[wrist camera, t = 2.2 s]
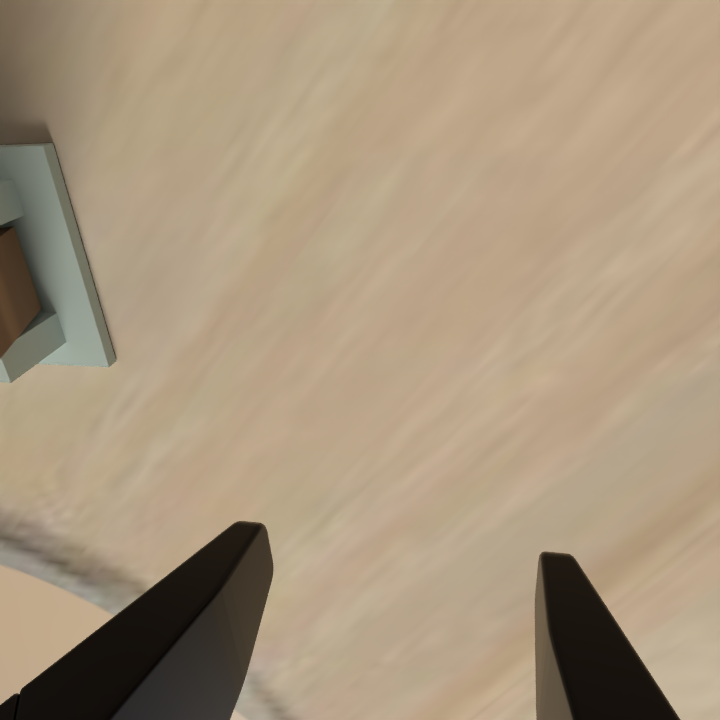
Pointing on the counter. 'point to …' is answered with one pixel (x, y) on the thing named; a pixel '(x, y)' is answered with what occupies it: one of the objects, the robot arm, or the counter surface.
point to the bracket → (50, 266)
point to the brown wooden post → (14, 290)
